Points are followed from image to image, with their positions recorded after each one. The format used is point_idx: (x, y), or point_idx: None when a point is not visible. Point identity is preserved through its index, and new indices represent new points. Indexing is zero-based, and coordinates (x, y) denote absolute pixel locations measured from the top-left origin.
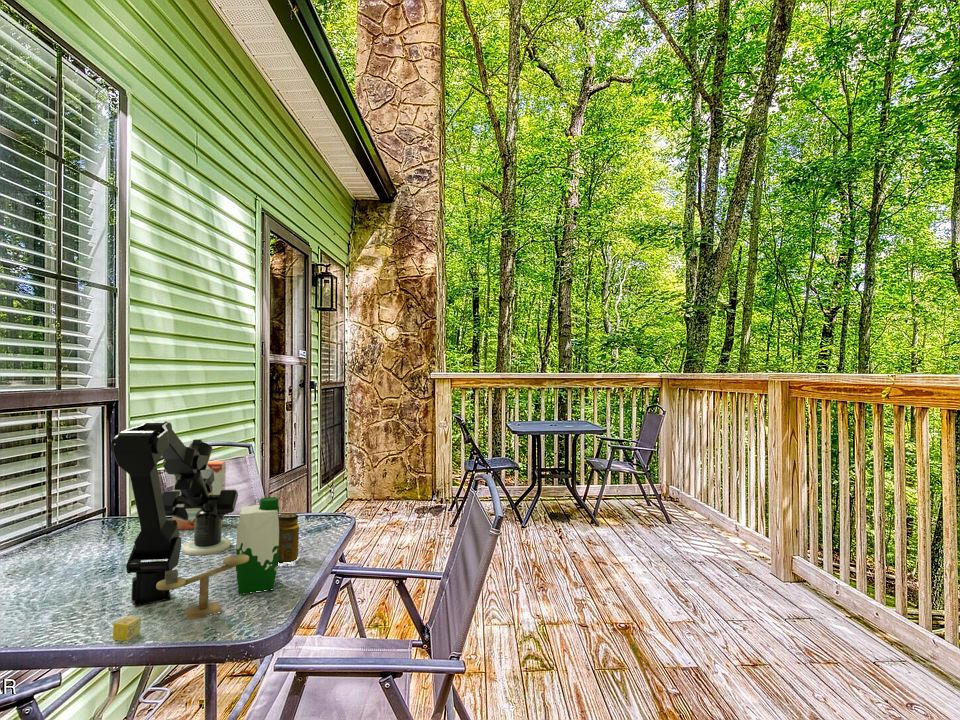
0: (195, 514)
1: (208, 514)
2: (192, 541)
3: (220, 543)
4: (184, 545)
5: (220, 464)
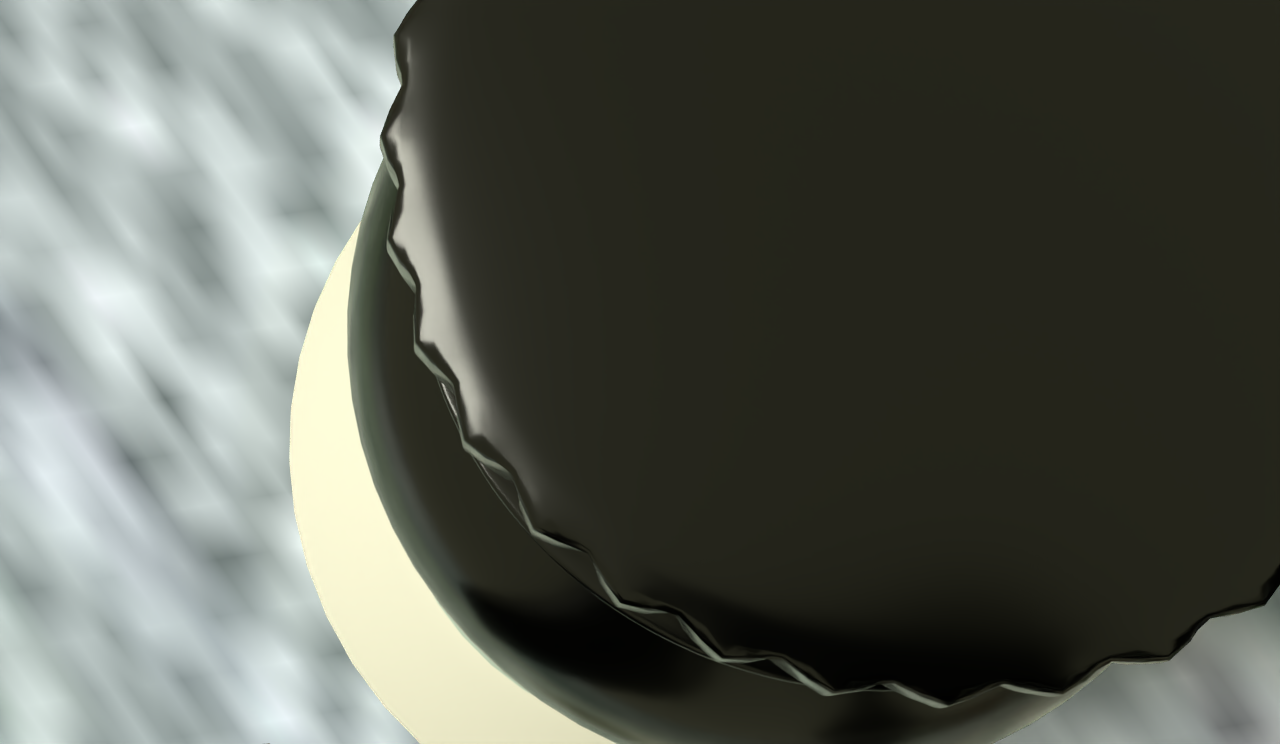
0: (419, 570)
1: (1068, 695)
2: (335, 340)
3: None
4: (337, 582)
5: None
